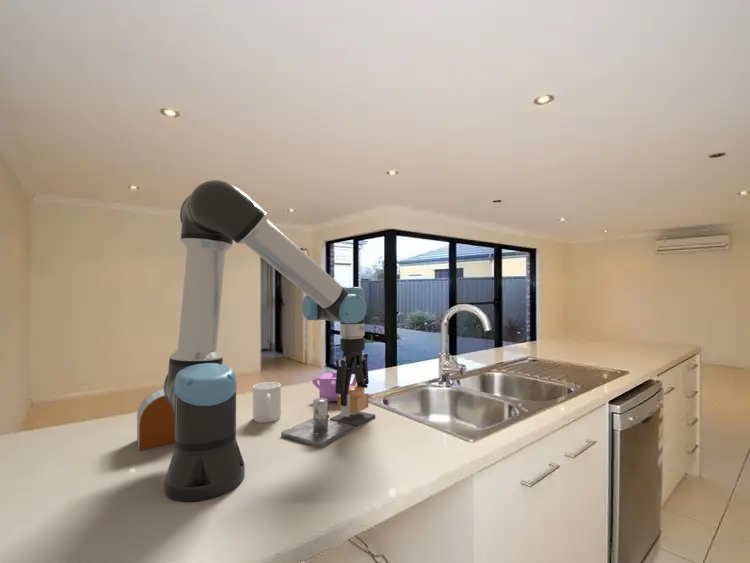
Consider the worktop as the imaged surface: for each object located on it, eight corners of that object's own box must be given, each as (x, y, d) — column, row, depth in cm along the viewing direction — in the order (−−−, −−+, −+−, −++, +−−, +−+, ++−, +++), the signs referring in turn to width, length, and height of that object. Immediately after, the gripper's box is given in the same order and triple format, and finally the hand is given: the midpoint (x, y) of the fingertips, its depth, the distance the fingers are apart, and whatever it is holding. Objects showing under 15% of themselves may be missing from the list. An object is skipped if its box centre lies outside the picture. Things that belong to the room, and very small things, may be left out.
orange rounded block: (197, 427, 108) (197, 380, 109) (203, 436, 101) (203, 386, 102) (136, 439, 100) (137, 388, 100) (139, 450, 93) (139, 396, 93)
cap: (337, 409, 113) (336, 389, 113) (350, 403, 119) (350, 384, 119) (356, 413, 109) (355, 392, 110) (368, 406, 115) (368, 387, 115)
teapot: (363, 394, 140) (363, 367, 141) (361, 406, 127) (361, 376, 127) (315, 395, 141) (315, 368, 141) (308, 406, 127) (308, 376, 127)
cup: (279, 412, 121) (279, 381, 121) (283, 425, 110) (283, 390, 110) (252, 415, 118) (252, 383, 118) (253, 429, 107) (253, 393, 107)
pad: (357, 427, 107) (357, 424, 107) (329, 421, 113) (329, 418, 113) (375, 417, 116) (375, 414, 116) (349, 411, 121) (349, 409, 121)
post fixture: (321, 447, 94) (321, 411, 94) (281, 436, 101) (281, 402, 101) (353, 429, 106) (353, 397, 106) (315, 420, 113) (315, 390, 113)
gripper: (343, 342, 104) (343, 424, 104) (379, 334, 121) (380, 405, 121) (322, 340, 108) (322, 420, 108) (360, 333, 125) (360, 401, 125)
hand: (353, 412), depth 114 cm, fingers closed on cap, 7 cm apart
